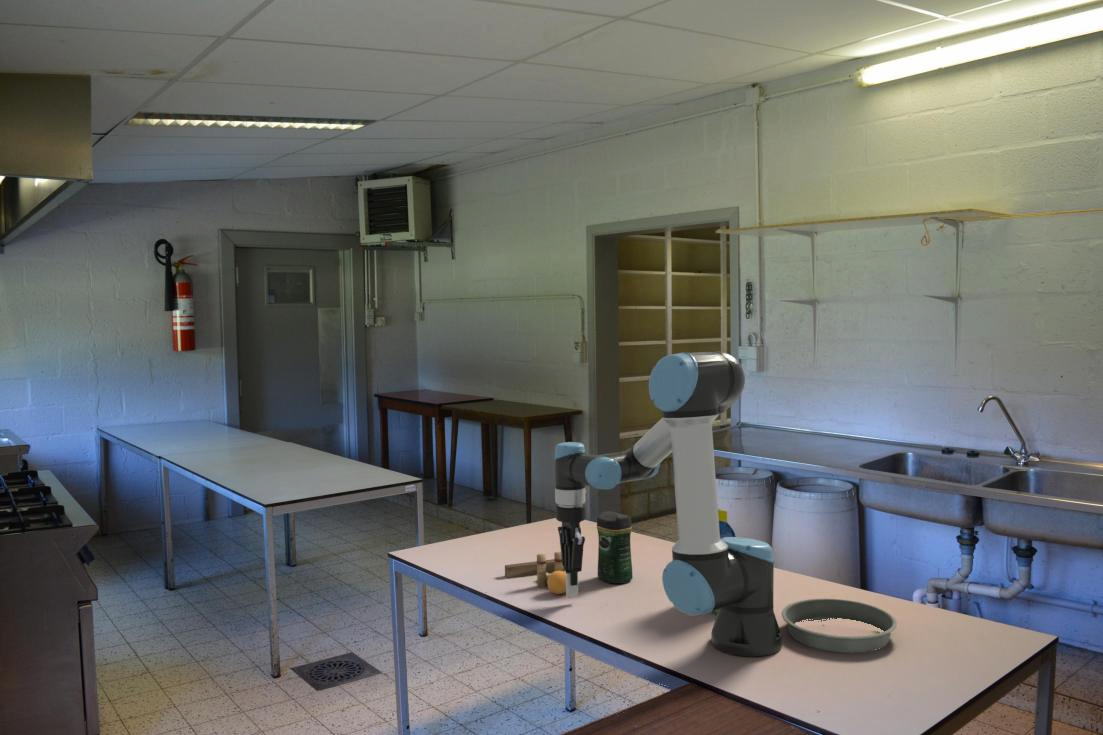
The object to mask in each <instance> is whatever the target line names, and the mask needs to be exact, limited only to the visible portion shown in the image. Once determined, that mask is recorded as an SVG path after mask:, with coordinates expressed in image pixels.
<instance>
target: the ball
mask: <svg viewBox="0 0 1103 735" xmlns="http://www.w3.org/2000/svg"><path fill="white" fill-rule="evenodd" d="M549 574H550V575H549V577H548V580H547V583H546V586H547V588H548V589H549V590H550V592H551V593H552V594H556V595H562V594H566V571H564V572H563V571H554V572H552V573H549Z"/></svg>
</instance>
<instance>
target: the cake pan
mask: <svg viewBox="0 0 1103 735" xmlns="http://www.w3.org/2000/svg"><path fill="white" fill-rule="evenodd" d="M781 616H782V619H783V620H784V622H785V623H787V628H788V631H789V634H790V633H791V634H790V635H791V636H793V637H794V639H795V640H796V639H797V640H796V641H798V642H799V641H800V642H799V643H801V642H802V644H803V643H804V645H806V646H808V645H809V646H808V647H811V646H812V648H814V647H815V649H818V650H822V649H823V651H827V650H828V652H833V651H836V652H835V653H842V652H862V653H868V652H867V651H870V652H873V651H872V650H875V649H878V650H880V649H879V648H881V649H883V648H884V646H885V645H886V644H887V643H889V642H890V637H891V634H892V632H894V631H895V630H896V628H897V625H898V623H897V619H896V617H894V616H893V614H891V613H890V612H888V611H886V610H884V609H882V608H880V607H877V606H875V605H872V604H867V603H866V602H865V603H864V602H860V601H855V600H848V599H842V598H825V597H824V598H810V599H809V598H808V599H803V600H799V601H798V600H797V601H795V602H792V603H790V604H788V605H786V606H784V608H783V609H782V611H781ZM828 618H829V620H830V618H832V619H833V618H834V619H837V618H842V619H850V620H856V621H861V622H864V623H867V624H871V625H873V626H875V627H877V628H880V629H881V630H883V631H884V632H882V633H876V634H870V635H869V634H868V635H859V636H858V635H857V636H856V635H855V636H854V635H853V636H847V635H836V634H835V635H834V634H828V633H827V634H826V633H821V632H817V631H812V630H810V629H807V628H805V627H799V626H797V625H795V623H796V622H800V621H801V622H802V620H806V619H808V621H814V620H821V622H822V619H826V620H827V619H828ZM809 619H811V620H809ZM812 619H813V620H812ZM826 620H823V621H826ZM806 621H807V620H806ZM803 622H804V621H803ZM818 622H819V621H818ZM793 637H792V638H793ZM887 645H888V644H887ZM887 645H886V646H887ZM886 646H885V647H886ZM882 647H883V648H882ZM875 651H876V650H875Z"/></svg>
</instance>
